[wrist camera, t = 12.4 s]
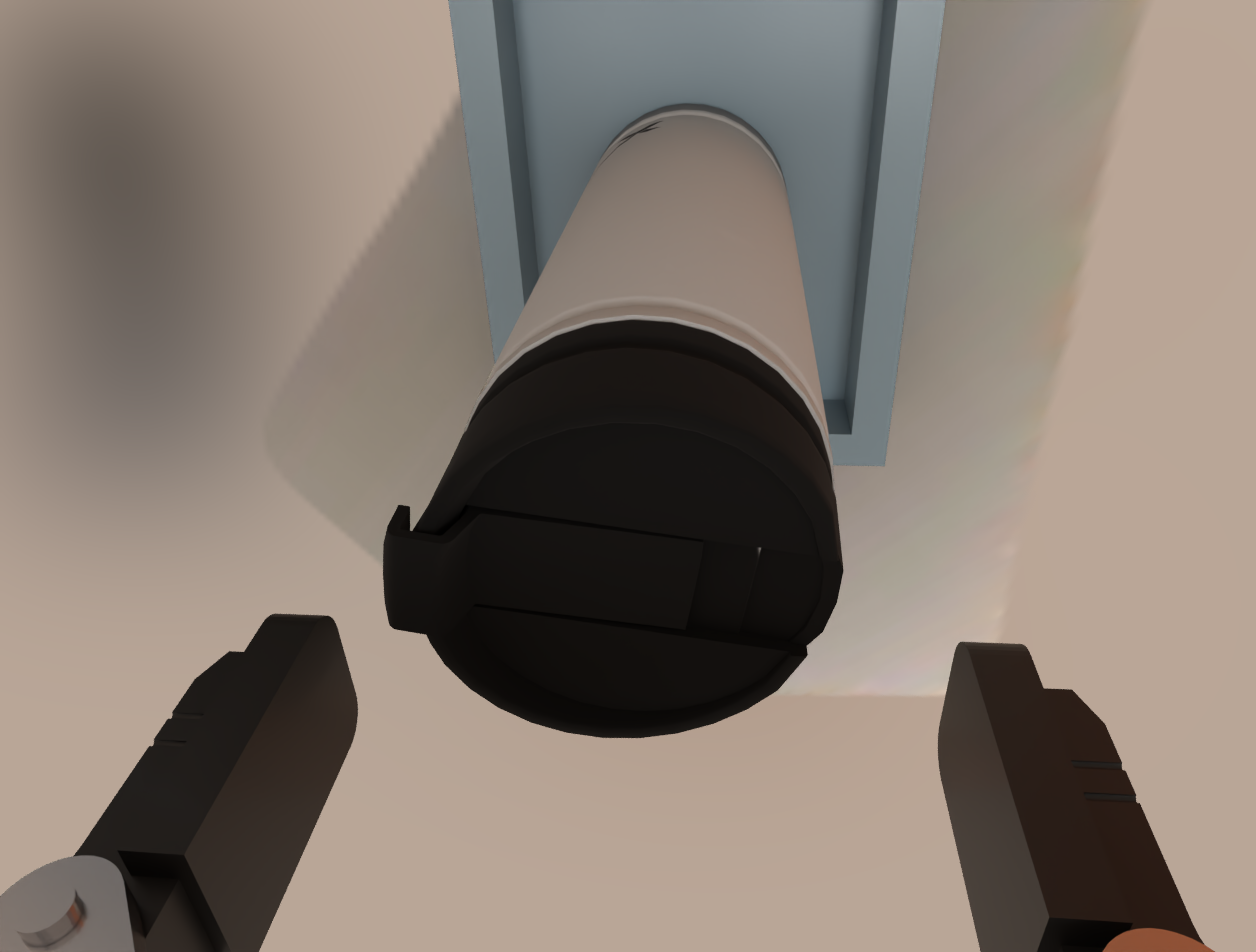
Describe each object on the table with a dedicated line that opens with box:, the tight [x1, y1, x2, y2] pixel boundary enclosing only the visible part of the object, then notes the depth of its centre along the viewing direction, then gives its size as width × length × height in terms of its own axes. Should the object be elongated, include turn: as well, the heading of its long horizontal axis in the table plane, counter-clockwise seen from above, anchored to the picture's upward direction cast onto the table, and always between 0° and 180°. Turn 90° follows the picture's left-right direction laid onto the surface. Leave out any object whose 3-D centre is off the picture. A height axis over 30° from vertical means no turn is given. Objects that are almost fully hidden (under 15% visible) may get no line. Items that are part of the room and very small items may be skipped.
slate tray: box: [448, 0, 946, 466], centre depth 29 cm, size 16×13×4 cm
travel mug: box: [383, 103, 843, 738], centre depth 21 cm, size 6×7×20 cm
